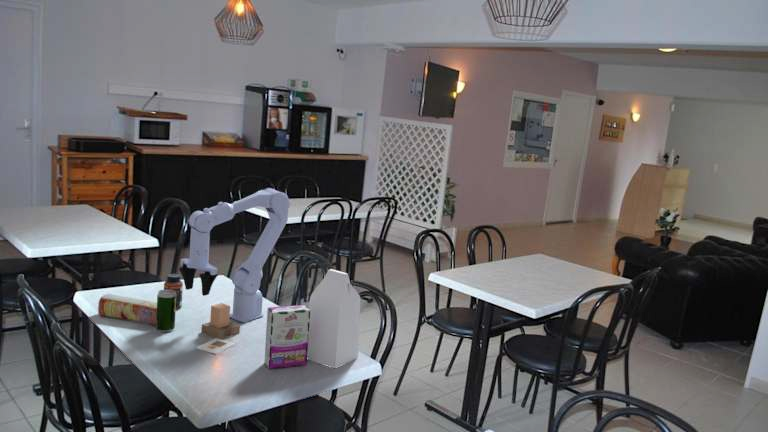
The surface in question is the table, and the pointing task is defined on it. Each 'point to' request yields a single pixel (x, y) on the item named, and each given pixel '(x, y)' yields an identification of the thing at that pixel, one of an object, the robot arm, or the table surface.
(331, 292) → the milk
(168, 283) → the supplement bottle
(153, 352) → the table surface
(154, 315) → the snack package
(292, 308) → the candy bar box
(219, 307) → the terracotta block
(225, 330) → the walnut slab
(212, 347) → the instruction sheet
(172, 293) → the beer can
